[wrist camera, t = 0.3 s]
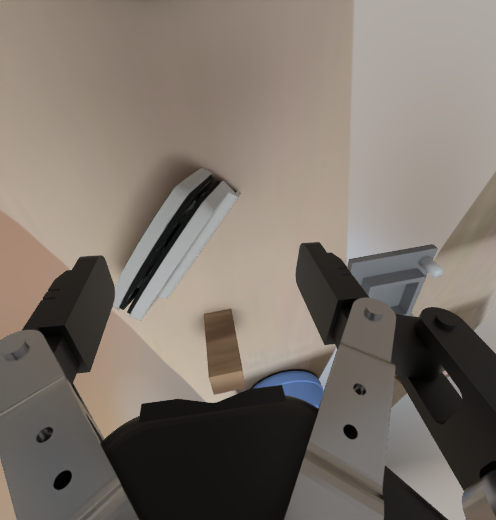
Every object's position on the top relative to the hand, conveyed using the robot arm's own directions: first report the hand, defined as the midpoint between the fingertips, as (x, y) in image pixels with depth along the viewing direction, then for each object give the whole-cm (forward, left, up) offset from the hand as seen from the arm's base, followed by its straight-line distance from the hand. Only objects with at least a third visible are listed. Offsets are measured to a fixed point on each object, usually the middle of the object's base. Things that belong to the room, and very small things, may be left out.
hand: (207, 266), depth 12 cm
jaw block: (+25, -1, -19) cm, 31 cm away
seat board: (+25, +25, -19) cm, 40 cm away
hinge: (+9, -4, -19) cm, 21 cm away
